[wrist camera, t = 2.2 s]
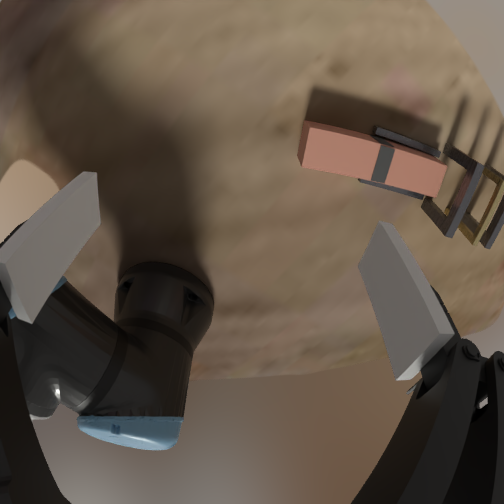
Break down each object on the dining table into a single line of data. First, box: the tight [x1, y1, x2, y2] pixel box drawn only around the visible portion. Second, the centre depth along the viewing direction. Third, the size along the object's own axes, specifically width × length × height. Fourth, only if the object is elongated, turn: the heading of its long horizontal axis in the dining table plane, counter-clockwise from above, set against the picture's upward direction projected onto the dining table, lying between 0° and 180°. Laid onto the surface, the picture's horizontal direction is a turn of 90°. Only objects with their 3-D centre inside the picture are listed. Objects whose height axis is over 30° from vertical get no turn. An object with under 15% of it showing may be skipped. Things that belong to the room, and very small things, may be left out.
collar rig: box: [358, 126, 504, 249], centre depth 26 cm, size 19×9×8 cm, turn 80°
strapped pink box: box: [297, 120, 448, 198], centre depth 27 cm, size 16×4×4 cm, turn 83°
